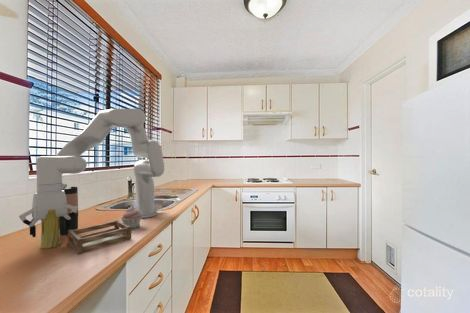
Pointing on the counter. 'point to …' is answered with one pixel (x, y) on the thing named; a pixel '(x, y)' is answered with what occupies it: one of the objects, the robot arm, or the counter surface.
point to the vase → (50, 230)
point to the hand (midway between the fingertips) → (50, 232)
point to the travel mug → (71, 200)
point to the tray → (98, 236)
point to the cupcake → (131, 217)
